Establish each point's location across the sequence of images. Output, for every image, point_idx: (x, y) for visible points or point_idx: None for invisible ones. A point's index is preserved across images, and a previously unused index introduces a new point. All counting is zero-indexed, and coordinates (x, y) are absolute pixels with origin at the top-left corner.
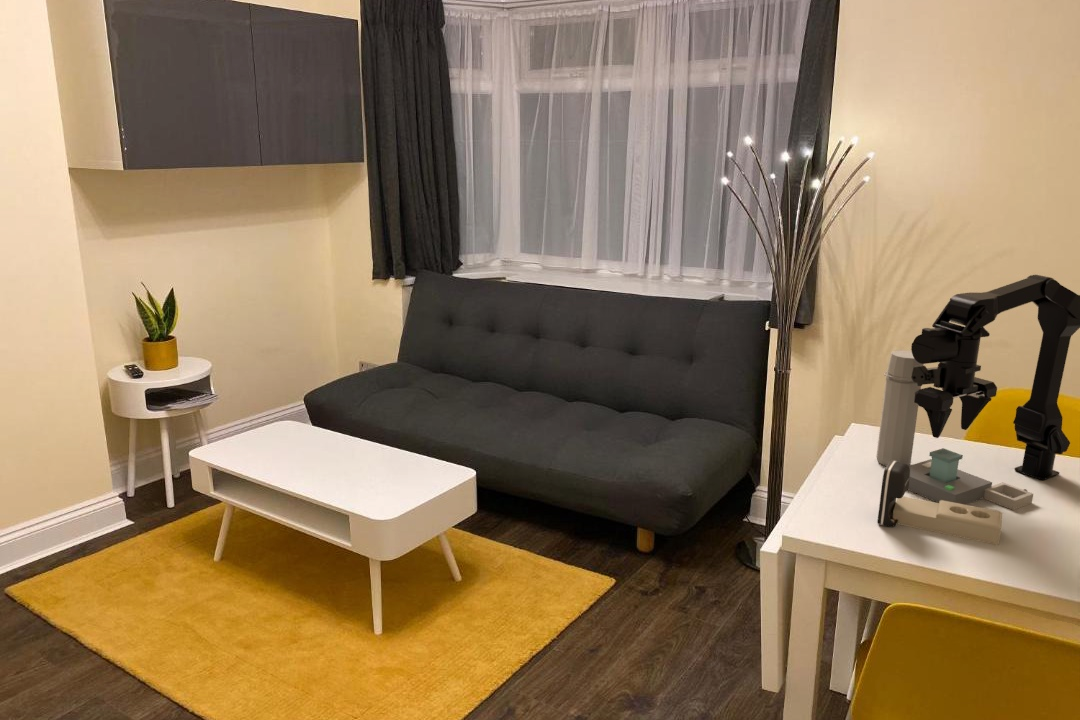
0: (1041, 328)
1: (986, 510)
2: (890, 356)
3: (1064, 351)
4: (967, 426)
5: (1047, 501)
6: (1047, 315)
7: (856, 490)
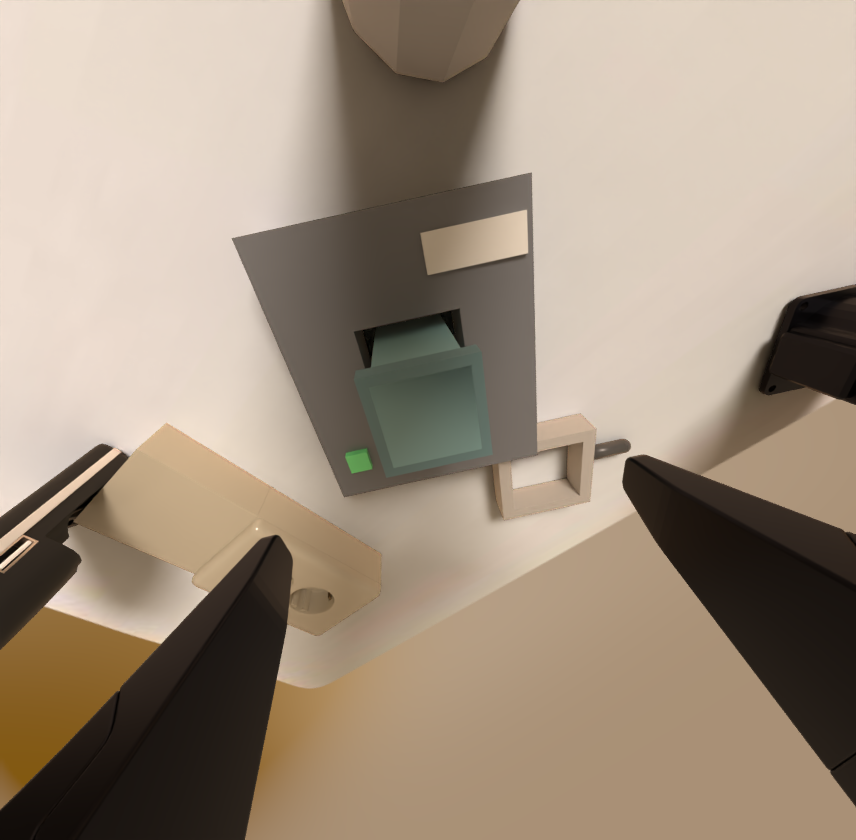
0: None
1: (343, 590)
2: None
3: None
4: (642, 517)
5: (618, 484)
6: None
7: (39, 244)
